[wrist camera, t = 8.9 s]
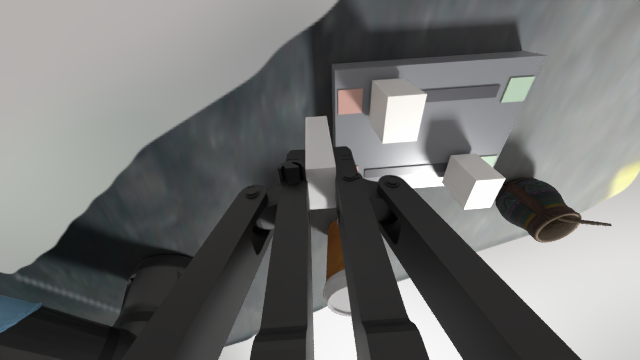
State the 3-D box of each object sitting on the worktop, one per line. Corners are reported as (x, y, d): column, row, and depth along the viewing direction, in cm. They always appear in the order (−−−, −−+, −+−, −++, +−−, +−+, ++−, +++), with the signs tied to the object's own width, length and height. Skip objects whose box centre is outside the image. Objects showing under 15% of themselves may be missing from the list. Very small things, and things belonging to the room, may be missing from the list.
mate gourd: (478, 194, 36) (530, 247, 28) (527, 161, 33) (600, 209, 25) (500, 213, 39) (553, 266, 31) (547, 184, 36) (618, 234, 28)
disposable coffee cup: (311, 217, 37) (314, 291, 27) (369, 202, 36) (394, 273, 26) (327, 251, 42) (334, 323, 33) (378, 239, 41) (401, 309, 32)
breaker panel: (333, 180, 33) (336, 194, 30) (331, 63, 24) (335, 70, 21) (473, 169, 33) (487, 182, 31) (522, 50, 24) (548, 55, 22)
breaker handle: (441, 182, 30) (463, 209, 26) (450, 155, 27) (476, 180, 23) (464, 180, 30) (490, 207, 26) (475, 153, 27) (505, 178, 23)
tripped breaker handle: (369, 121, 24) (382, 143, 20) (372, 80, 22) (388, 96, 18) (397, 119, 24) (416, 141, 20) (404, 78, 22) (427, 93, 18)
